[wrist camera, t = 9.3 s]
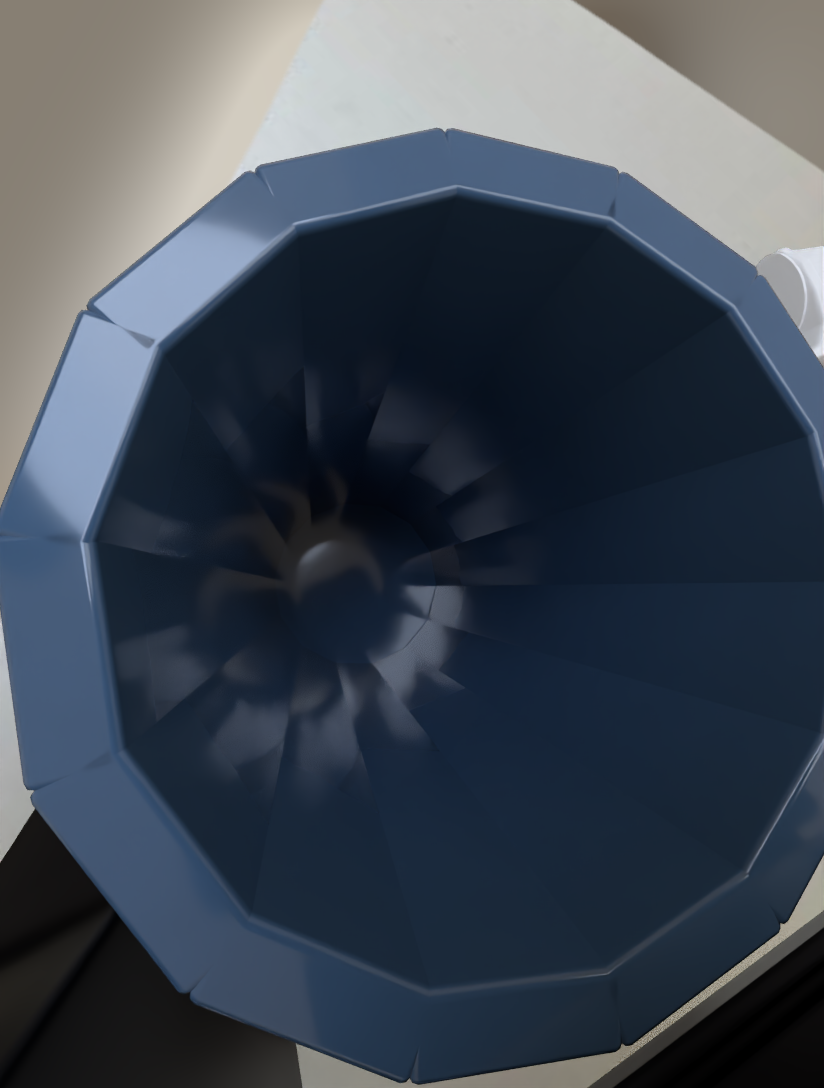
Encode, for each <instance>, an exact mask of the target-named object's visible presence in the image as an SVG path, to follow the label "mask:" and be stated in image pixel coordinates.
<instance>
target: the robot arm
mask: <svg viewBox="0 0 824 1088" xmlns="http://www.w3.org/2000/svg"><path fill="white" fill-rule="evenodd" d="M0 1088H302V1081H301V1075H300V1068H299V1062H298V1055H297V1049H296V1043H294V1042H292V1041H289V1040H287V1039H284V1038H281V1037H279V1036H276V1035H274V1034H271V1033H268V1032H266V1031H263V1030H261V1029H258V1028H255V1027H253V1026H250V1025H247V1024H245V1023H242V1022H240V1021H237V1020H234V1019H232V1018H229V1017H227V1016H224V1015H221V1014H219V1013H216V1012H214V1011H211V1010H208V1009H206V1008H203V1007H201V1006H198V1005H195V1004H194V1003H193V1002H192V1001H191V1000H190V997H189V993H187V994H181V993H179V992H178V991H177V990H176V989H175V987H174V986H173V985H172V983H171V982H170V981H169V980H168V978H167V977H166V976H165V974H164V973H163V972H162V971H161V969H160V968H159V967H158V965H157V964H156V963H155V962H154V960H153V959H152V958H151V956H150V955H149V954H148V953H147V951H146V950H145V949H144V947H143V946H142V945H141V944H140V942H139V941H138V940H137V938H136V937H135V936H134V935H133V933H132V932H131V931H130V929H129V928H128V927H127V926H126V924H125V923H124V922H123V921H122V919H121V918H120V917H119V915H118V914H117V913H116V912H115V910H114V909H113V908H112V906H111V905H110V904H109V903H108V901H107V900H106V899H105V897H104V896H103V895H102V894H101V892H100V891H99V890H98V888H97V887H96V886H95V885H94V883H93V882H92V881H91V879H90V878H89V877H88V876H87V874H86V873H85V872H84V870H83V869H82V868H81V867H80V865H79V864H78V863H77V861H76V860H75V859H74V858H73V856H72V855H71V854H70V852H69V851H68V850H67V849H66V847H65V846H64V845H63V843H62V842H61V841H60V840H59V838H58V837H57V836H56V834H55V833H54V832H53V831H52V829H51V828H50V827H49V825H48V824H47V823H46V822H45V820H44V819H43V818H42V816H41V815H40V814H39V813H38V811H37V810H36V809H34V811H33V813H32V814H31V816H30V817H29V819H28V821H27V822H26V824H25V825H24V827H23V829H22V830H21V832H20V833H19V835H18V836H17V838H16V840H15V841H14V843H13V844H12V846H11V847H10V849H9V850H8V852H7V853H6V855H5V856H4V858H3V859H2V861H1V863H0ZM588 1088H824V911H823V912H821V913H820V914H819V915H817V916H816V917H815V918H813V919H812V920H811V921H809V922H808V923H807V924H805V925H804V926H803V927H801V928H800V929H799V930H797V931H796V932H795V933H793V934H792V935H791V936H789V937H788V938H787V939H785V940H784V941H783V942H781V943H780V944H779V945H777V946H776V947H775V948H773V949H772V950H771V951H769V952H768V953H767V954H765V955H764V956H763V957H761V958H760V959H759V960H757V961H756V962H755V963H753V964H752V965H751V966H749V967H748V968H747V969H745V970H744V971H743V972H741V973H740V974H739V975H737V976H736V977H735V978H733V979H732V980H731V981H729V982H728V983H727V984H725V985H724V986H723V987H721V988H720V989H719V990H717V991H716V992H715V993H713V994H712V995H711V996H709V997H708V998H707V999H705V1000H704V1001H703V1002H701V1003H700V1004H699V1005H697V1006H696V1007H695V1008H693V1009H692V1010H691V1011H689V1012H688V1013H687V1014H685V1015H684V1016H683V1017H681V1018H680V1019H679V1020H677V1021H676V1022H675V1023H673V1024H672V1025H671V1026H669V1027H668V1028H667V1029H665V1030H664V1031H663V1032H661V1033H660V1034H659V1035H657V1036H656V1037H655V1038H653V1039H652V1040H651V1041H649V1042H648V1043H647V1044H645V1045H644V1046H643V1047H641V1048H640V1049H639V1050H637V1051H636V1052H635V1053H633V1054H632V1055H631V1056H629V1057H628V1058H627V1059H625V1060H624V1061H623V1062H621V1063H620V1064H619V1065H617V1066H616V1067H615V1068H613V1069H612V1070H611V1071H609V1072H608V1073H607V1074H605V1075H604V1076H603V1077H601V1078H600V1079H599V1080H597V1081H596V1082H595V1083H593V1084H592V1085H591V1086H589V1087H588Z"/></svg>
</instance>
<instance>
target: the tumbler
mask: <svg viewBox="0 0 824 1088" xmlns="http://www.w3.org/2000/svg"><path fill="white" fill-rule="evenodd" d="M87 309H88V310H81V311H80V312H79V313H78V315H77V317H76V320H75V323H74V325H73V327H72V330H71V332H70V335H69V337H68V340H67V342H66V345H65V347H64V350H63V353H62V355H61V357H60V360H59V363H58V365H57V367H56V370H55V372H54V375H53V378H52V380H51V383H50V385H49V387H48V390H47V392H46V395H45V398H44V400H43V402H42V405H41V407H40V410H39V412H38V415H37V417H36V420H35V422H34V425H33V428H32V430H31V433H30V435H29V438H28V440H27V442H26V445H25V447H24V450H23V453H22V455H21V458H20V460H19V462H18V465H17V468H16V470H15V472H14V475H13V478H12V480H11V482H10V485H9V487H8V490H7V492H6V495H5V497H4V500H3V502H2V505H1V508H0V611H1V618H2V626H3V633H4V641H5V648H6V656H7V663H8V670H9V678H10V685H11V693H12V700H13V708H14V715H15V723H16V730H17V738H18V745H19V752H20V760H21V767H22V775H23V782H24V785H25V787H26V789H27V790H34V792H33V793H32V795H31V797H30V798H31V802H32V805H33V806H34V807H35V809H36V810H37V811H38V813H39V814H40V815H41V816H42V818H43V819H44V820H45V822H46V823H47V824H48V825H49V827H50V828H51V829H52V831H53V832H54V833H55V834H56V836H57V837H58V838H59V840H60V841H61V842H62V843H63V845H64V846H65V847H66V849H67V850H68V851H69V852H70V854H71V855H72V856H73V858H74V859H75V860H76V861H77V863H78V864H79V865H80V867H81V868H82V869H83V870H84V872H85V873H86V874H87V876H88V877H89V878H90V879H91V881H92V882H93V883H94V885H95V886H96V887H97V888H98V890H99V891H100V892H101V894H102V895H103V896H104V897H105V899H106V900H107V901H108V903H109V904H110V905H111V906H112V908H113V909H114V910H115V912H116V913H117V914H118V915H119V917H120V918H121V919H122V921H123V922H124V923H125V924H126V926H127V927H128V928H129V929H130V931H131V932H132V933H133V935H134V936H135V937H136V938H137V940H138V941H139V942H140V944H141V945H142V946H143V947H144V949H145V950H146V951H147V953H148V954H149V955H150V956H151V958H152V959H153V960H154V962H155V963H156V964H157V965H158V967H159V968H160V969H161V971H162V972H163V973H164V974H165V976H166V977H167V978H168V980H169V981H170V982H171V983H172V985H173V986H174V987H175V989H176V990H177V991H178V992H179V993H181V994H187V993H189V997H190V1000H191V1001H192V1002H193V1003H194V1004H195V1005H198V1006H201V1007H203V1008H206V1009H208V1010H211V1011H214V1012H216V1013H219V1014H221V1015H224V1016H227V1017H229V1018H232V1019H234V1020H237V1021H240V1022H242V1023H245V1024H247V1025H250V1026H253V1027H255V1028H258V1029H261V1030H263V1031H266V1032H268V1033H271V1034H274V1035H276V1036H279V1037H281V1038H284V1039H287V1040H289V1041H292V1042H294V1043H297V1044H300V1045H302V1046H305V1047H307V1048H310V1049H313V1050H315V1051H318V1052H320V1053H323V1054H326V1055H328V1056H331V1057H333V1058H336V1059H339V1060H341V1061H344V1062H346V1063H349V1064H352V1065H354V1066H357V1067H359V1068H362V1069H365V1070H367V1071H370V1072H372V1073H375V1074H378V1075H380V1076H383V1077H385V1078H388V1079H391V1080H393V1081H396V1082H398V1083H404V1082H407V1080H408V1079H409V1078H410V1080H411V1081H412V1083H415V1084H418V1085H421V1084H427V1083H433V1082H438V1081H444V1080H450V1079H456V1078H462V1077H468V1076H474V1075H480V1074H486V1073H492V1072H498V1071H504V1070H510V1069H516V1068H522V1067H528V1066H534V1065H540V1064H546V1063H552V1062H558V1061H564V1060H570V1059H576V1058H582V1057H588V1056H594V1055H600V1054H606V1053H612V1052H616V1051H617V1050H619V1049H620V1047H621V1045H622V1044H623V1045H625V1046H630V1045H632V1044H634V1043H635V1042H636V1041H638V1040H639V1039H640V1038H642V1037H643V1036H644V1035H646V1034H647V1033H648V1032H649V1031H651V1030H652V1029H653V1028H655V1027H656V1026H657V1025H659V1024H660V1023H661V1022H663V1021H664V1020H665V1019H666V1018H668V1017H669V1016H670V1015H672V1014H673V1013H674V1012H676V1011H677V1010H678V1009H680V1008H681V1007H682V1006H684V1005H685V1004H686V1003H687V1002H689V1001H690V1000H691V999H693V998H694V997H695V996H697V995H698V994H699V993H701V992H702V991H703V990H704V989H706V988H707V987H708V986H710V985H711V984H712V983H714V982H715V981H716V980H718V979H719V978H720V977H722V976H723V975H724V974H725V973H727V972H728V971H729V970H731V969H732V968H733V967H735V966H736V965H737V964H739V963H740V962H741V961H742V960H744V959H745V958H746V957H748V956H749V955H750V954H752V953H753V952H754V951H756V950H757V949H758V948H759V947H761V946H762V945H763V944H765V943H766V942H767V941H769V940H770V939H771V938H773V937H774V936H775V935H777V934H778V933H779V931H780V923H782V924H784V923H786V922H787V921H788V920H789V918H790V917H791V915H792V913H793V911H794V909H795V907H796V905H797V904H798V902H799V900H800V898H801V896H802V894H803V892H804V891H805V889H806V887H807V885H808V883H809V881H810V879H811V878H812V876H813V874H814V872H815V870H816V868H817V866H818V865H819V863H820V861H821V859H822V857H823V855H824V367H823V365H822V364H821V362H820V361H819V359H818V358H817V356H816V355H815V353H814V352H813V350H812V348H811V347H810V345H809V344H808V342H807V341H806V339H805V338H804V336H803V335H802V333H801V332H800V330H799V328H798V327H797V325H796V324H795V322H794V321H793V319H792V318H791V316H790V315H789V313H788V312H787V310H786V308H785V307H784V305H783V304H782V302H781V301H780V299H779V298H778V296H777V295H776V293H775V292H774V290H773V288H772V287H771V285H770V284H769V282H768V281H767V279H766V278H765V277H764V276H762V275H758V271H757V269H756V267H755V266H753V265H752V264H751V263H749V262H748V261H747V260H745V259H744V258H743V257H741V256H740V255H738V254H737V253H736V252H734V251H733V250H732V249H730V248H729V247H727V246H726V245H725V244H723V243H722V242H721V241H719V240H718V239H717V238H715V237H714V236H712V235H711V234H710V233H708V232H707V231H706V230H704V229H703V228H702V227H700V226H699V225H697V224H696V223H695V222H693V221H692V220H691V219H689V218H688V217H687V216H685V215H684V214H682V213H681V212H680V211H678V210H677V209H676V208H674V207H673V206H671V205H670V204H669V203H667V202H666V201H665V200H663V199H662V198H661V197H659V196H658V195H656V194H655V193H654V192H652V191H651V190H650V189H648V188H647V187H646V186H644V185H643V184H641V183H640V182H639V181H637V180H636V179H635V178H633V177H632V176H631V175H629V174H628V173H625V172H621V173H620V174H619V172H618V170H617V169H616V168H615V167H612V166H608V165H604V164H600V163H596V162H592V161H587V160H583V159H579V158H575V157H571V156H566V155H562V154H558V153H554V152H550V151H546V150H541V149H537V148H533V147H529V146H525V145H521V144H516V143H512V142H508V141H504V140H500V139H495V138H491V137H487V136H483V135H479V134H475V133H470V132H466V131H462V130H458V129H454V128H451V129H447V130H446V131H445V132H444V131H443V130H442V129H440V128H433V129H429V130H424V131H419V132H414V133H410V134H405V135H400V136H395V137H390V138H386V139H381V140H376V141H371V142H367V143H362V144H357V145H352V146H348V147H343V148H338V149H333V150H328V151H324V152H319V153H314V154H309V155H305V156H300V157H295V158H290V159H286V160H281V161H276V162H271V163H266V164H262V165H260V166H258V167H257V168H256V169H255V173H254V172H252V171H247V172H244V173H243V174H242V175H241V176H240V177H238V178H237V179H236V180H235V181H233V182H232V183H231V184H230V185H229V186H227V187H226V188H225V189H224V190H223V191H221V192H220V193H219V194H218V195H216V196H215V197H214V198H213V199H212V200H210V201H209V202H208V203H207V204H205V205H204V206H203V207H202V208H201V209H199V210H198V211H197V212H196V213H195V214H193V215H192V216H191V217H190V218H189V219H187V220H186V221H185V222H184V223H182V224H181V225H180V226H179V227H178V228H176V229H175V230H174V231H173V232H172V233H170V234H169V235H168V236H166V237H165V238H164V239H163V240H162V241H160V242H159V243H158V244H157V245H156V246H154V247H153V248H152V249H151V250H149V251H148V252H147V253H146V254H145V255H143V256H142V257H141V258H140V259H138V260H137V261H136V262H135V263H134V264H132V265H131V266H130V267H129V268H128V269H126V270H125V271H124V272H123V273H121V274H120V275H119V276H118V277H117V278H115V279H114V280H113V281H112V282H110V283H109V284H108V285H107V286H106V287H104V288H103V289H102V290H101V291H100V292H98V293H97V294H96V295H95V296H94V297H92V298H91V299H90V300H89V302H88V304H87Z"/></svg>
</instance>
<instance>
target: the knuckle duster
mask: <svg viewBox="0 0 824 1088" xmlns="http://www.w3.org/2000/svg"><path fill="white" fill-rule="evenodd" d="M756 269H757V271H758V275H762V276H764V277H765V278H766V279H767V281H768V282H769V284H770V285H771V287H772V288H773V290H774V292H775V293H776V295H777V296H778V298H779V299H780V301H781V302H782V304H783V305H784V307H785V308H786V310H787V312H788V313H789V315H790V316H791V318H792V319H793V321H794V322H795V324H796V325H797V327H798V328H799V330H800V332H801V333H802V335H803V336H804V338H805V339H806V341H807V342H808V344H809V345H810V347H811V348H812V350H813V352H814V353H815V355H816V356H817V358H818V359H819V361H820V362H821V364H822V365H823V367H824V246H819V247H813V248H806V249H799V250H791V249H789V248H781V249H779V250H777V251H776V252H774V253H773V254H770V255H767V256H765V257H764V258H763V259H762V260H761V261H760V262H759V263H758V264H757V266H756Z"/></svg>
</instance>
